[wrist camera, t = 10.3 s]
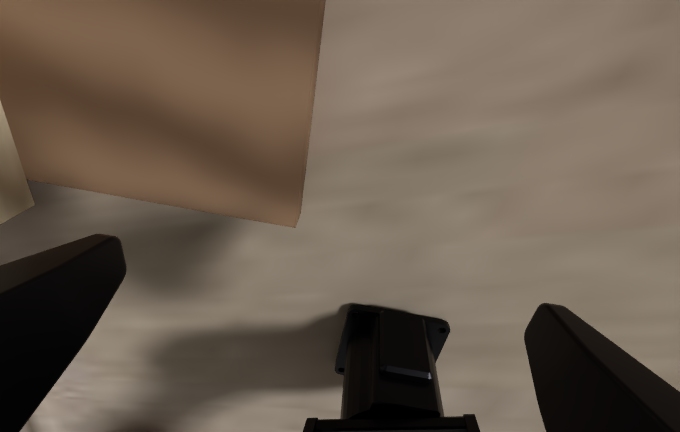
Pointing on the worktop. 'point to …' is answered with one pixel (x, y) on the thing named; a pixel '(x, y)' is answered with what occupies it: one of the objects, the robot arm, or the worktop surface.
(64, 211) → the worktop surface
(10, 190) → the rail
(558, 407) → the robot arm
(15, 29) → the mounting board
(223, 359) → the worktop surface
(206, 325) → the worktop surface
